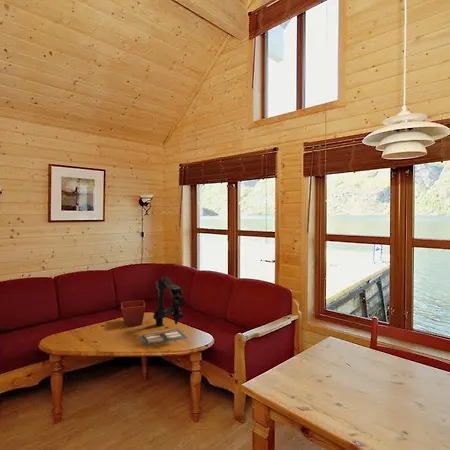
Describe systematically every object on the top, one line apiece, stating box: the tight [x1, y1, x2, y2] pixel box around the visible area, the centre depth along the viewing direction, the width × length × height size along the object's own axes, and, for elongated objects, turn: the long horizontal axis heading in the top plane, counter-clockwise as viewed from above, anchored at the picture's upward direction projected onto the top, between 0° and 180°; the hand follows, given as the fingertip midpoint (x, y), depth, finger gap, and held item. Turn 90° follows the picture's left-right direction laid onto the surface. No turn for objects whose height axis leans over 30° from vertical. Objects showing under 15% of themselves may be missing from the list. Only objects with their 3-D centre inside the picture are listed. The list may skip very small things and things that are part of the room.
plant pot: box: [120, 299, 146, 327], centre depth 274 cm, size 19×19×17 cm
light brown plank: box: [142, 327, 177, 339], centre depth 249 cm, size 6×25×2 cm, turn 117°
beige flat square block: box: [164, 331, 181, 340], centre depth 244 cm, size 10×10×2 cm
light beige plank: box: [146, 335, 163, 344], centre depth 238 cm, size 10×10×2 cm
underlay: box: [137, 328, 188, 348], centre depth 244 cm, size 22×32×1 cm
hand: (176, 323), depth 243 cm, fingers closed
